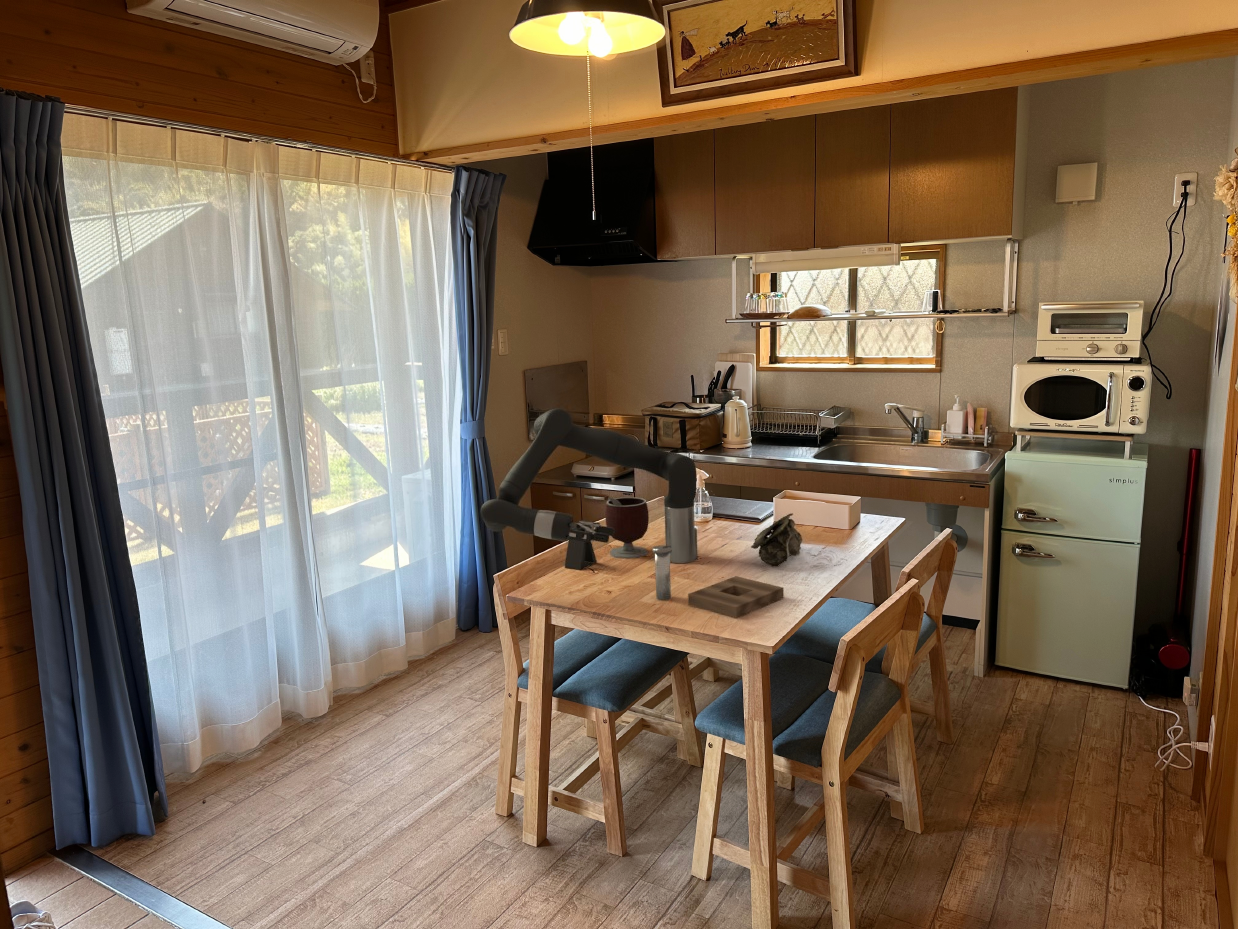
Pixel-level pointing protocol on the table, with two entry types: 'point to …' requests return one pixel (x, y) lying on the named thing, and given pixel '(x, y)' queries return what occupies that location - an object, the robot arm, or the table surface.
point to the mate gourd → (627, 524)
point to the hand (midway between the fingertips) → (611, 535)
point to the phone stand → (579, 555)
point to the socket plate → (735, 596)
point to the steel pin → (662, 571)
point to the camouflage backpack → (778, 542)
